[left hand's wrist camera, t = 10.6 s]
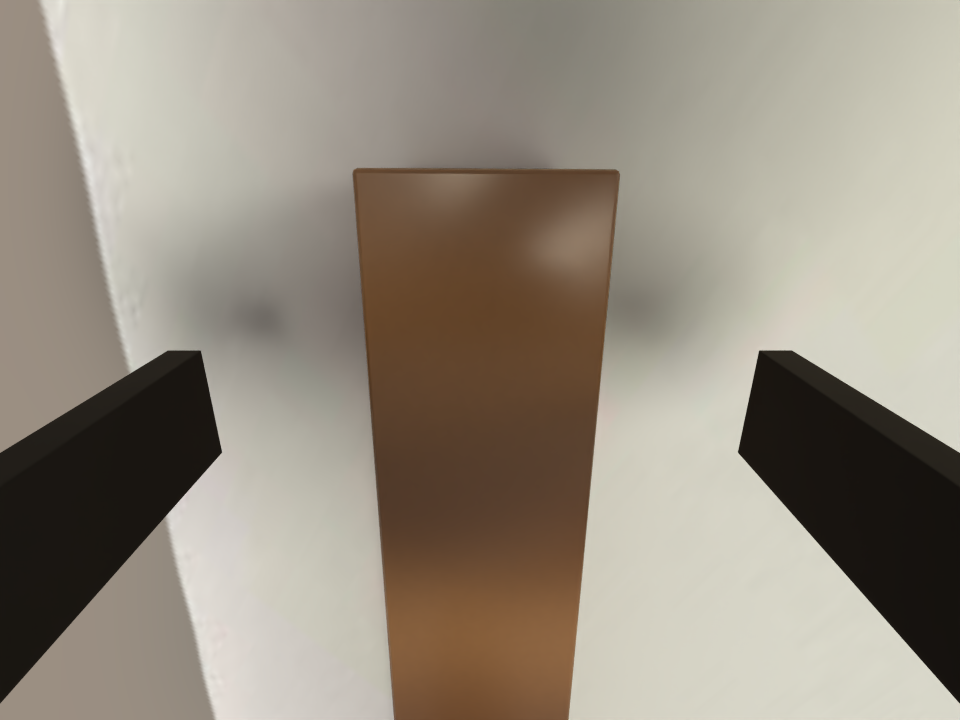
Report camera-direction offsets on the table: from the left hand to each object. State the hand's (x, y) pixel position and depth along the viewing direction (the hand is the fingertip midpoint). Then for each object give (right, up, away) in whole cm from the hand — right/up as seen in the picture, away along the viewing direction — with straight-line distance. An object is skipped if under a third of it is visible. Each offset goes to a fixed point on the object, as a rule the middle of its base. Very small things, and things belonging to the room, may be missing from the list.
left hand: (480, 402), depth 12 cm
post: (0, -17, +14) cm, 22 cm away
